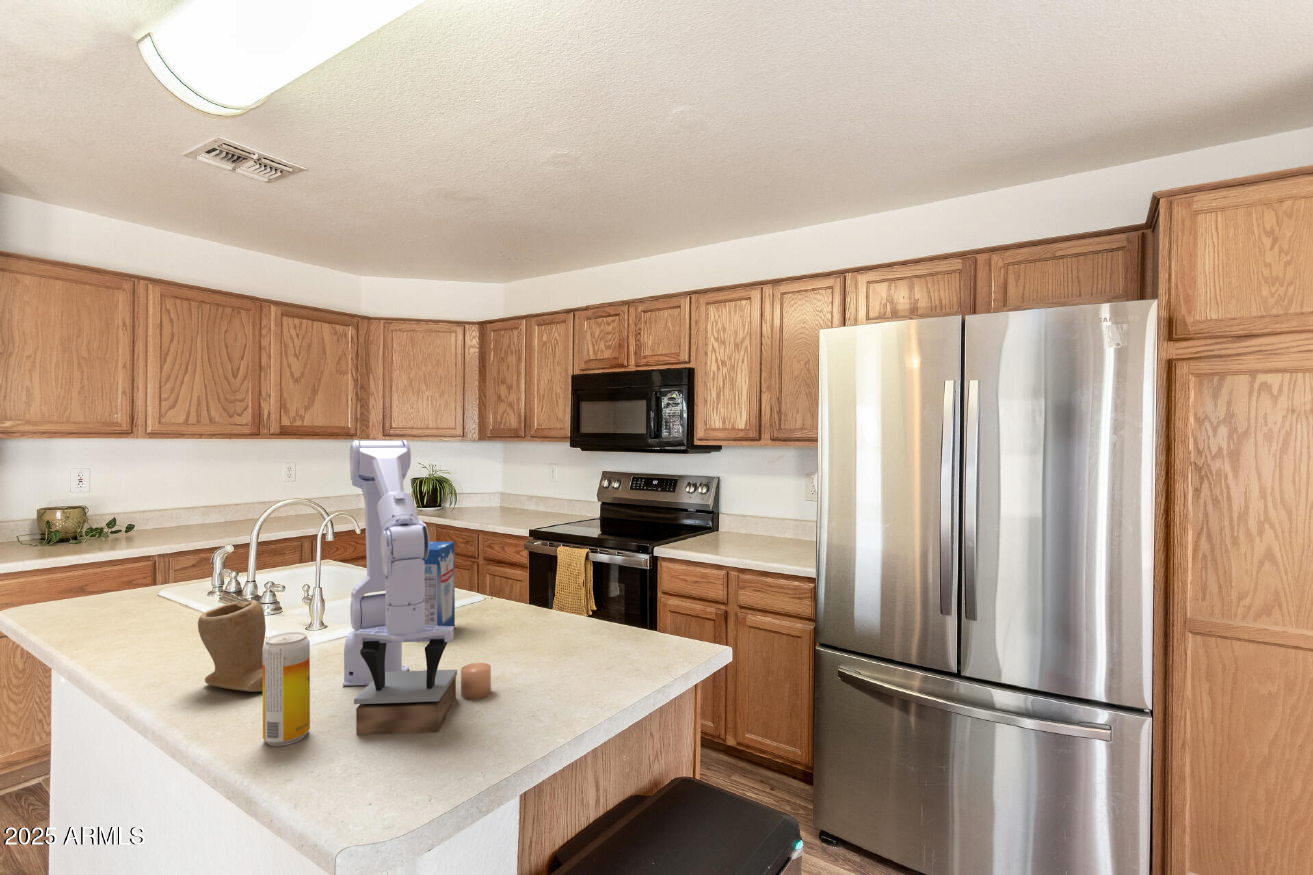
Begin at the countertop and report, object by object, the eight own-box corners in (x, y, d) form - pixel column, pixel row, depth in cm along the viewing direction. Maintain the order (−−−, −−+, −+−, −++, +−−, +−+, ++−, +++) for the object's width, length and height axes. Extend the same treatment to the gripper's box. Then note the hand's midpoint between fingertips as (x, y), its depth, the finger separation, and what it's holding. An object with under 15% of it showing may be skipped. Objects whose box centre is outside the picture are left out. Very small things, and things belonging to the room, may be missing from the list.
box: (356, 734, 96) (356, 708, 96) (383, 701, 108) (383, 677, 108) (438, 731, 97) (438, 705, 97) (455, 698, 109) (455, 675, 109)
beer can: (317, 727, 98) (317, 630, 98) (296, 747, 92) (296, 643, 92) (277, 728, 98) (277, 631, 98) (253, 748, 92) (253, 644, 92)
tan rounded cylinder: (458, 700, 108) (457, 673, 108) (464, 688, 113) (464, 663, 113) (487, 699, 109) (487, 672, 109) (493, 687, 114) (493, 662, 114)
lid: (353, 704, 95) (354, 698, 95) (382, 676, 108) (382, 671, 108) (438, 701, 96) (438, 695, 96) (457, 674, 109) (457, 669, 109)
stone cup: (183, 691, 112) (182, 606, 112) (249, 668, 123) (249, 591, 123) (239, 706, 106) (238, 616, 106) (304, 681, 117) (303, 599, 117)
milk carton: (439, 640, 139) (439, 549, 139) (411, 640, 140) (411, 549, 139) (454, 626, 149) (454, 541, 149) (428, 626, 150) (428, 541, 149)
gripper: (347, 609, 95) (347, 700, 95) (446, 606, 97) (446, 696, 97) (364, 597, 102) (364, 682, 102) (456, 595, 104) (457, 678, 104)
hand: (405, 687), depth 100 cm, fingers open, 7 cm apart
